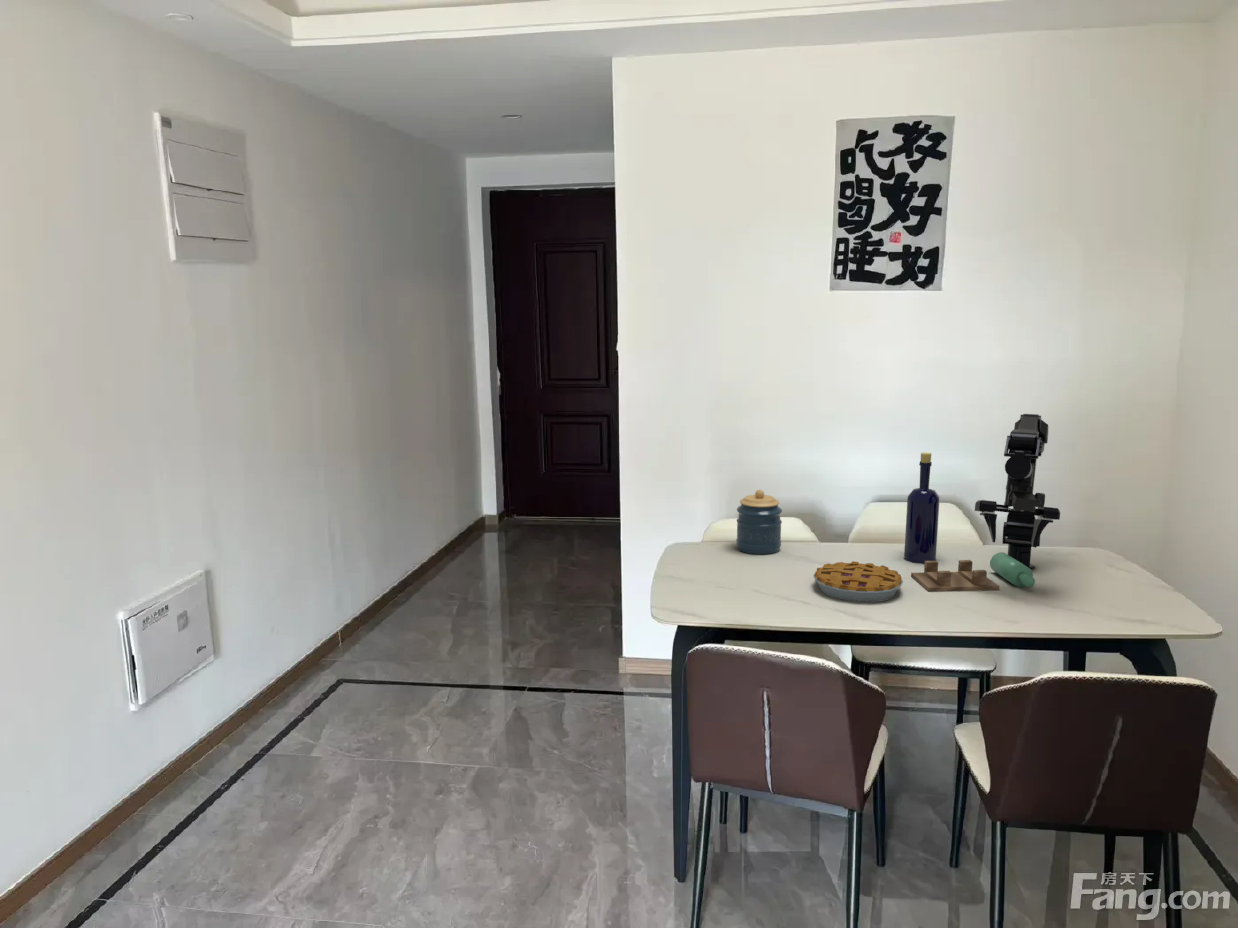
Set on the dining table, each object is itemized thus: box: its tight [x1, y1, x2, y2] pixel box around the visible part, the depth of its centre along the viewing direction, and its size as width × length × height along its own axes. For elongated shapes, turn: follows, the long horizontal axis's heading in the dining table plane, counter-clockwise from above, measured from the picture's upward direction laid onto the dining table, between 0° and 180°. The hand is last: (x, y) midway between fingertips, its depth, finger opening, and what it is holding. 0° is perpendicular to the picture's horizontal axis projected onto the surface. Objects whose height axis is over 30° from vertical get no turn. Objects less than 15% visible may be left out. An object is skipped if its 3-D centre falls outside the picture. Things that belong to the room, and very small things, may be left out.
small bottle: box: [989, 552, 1036, 588], centre depth 227 cm, size 16×6×6 cm, turn 2°
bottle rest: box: [910, 559, 1001, 593], centre depth 227 cm, size 18×12×4 cm, turn 92°
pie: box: [813, 560, 904, 603], centre depth 223 cm, size 22×22×5 cm
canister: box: [735, 489, 783, 555], centre depth 258 cm, size 13×13×18 cm
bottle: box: [903, 452, 941, 565], centre depth 245 cm, size 9×9×30 cm
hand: (1013, 544), depth 220 cm, fingers open, 9 cm apart
